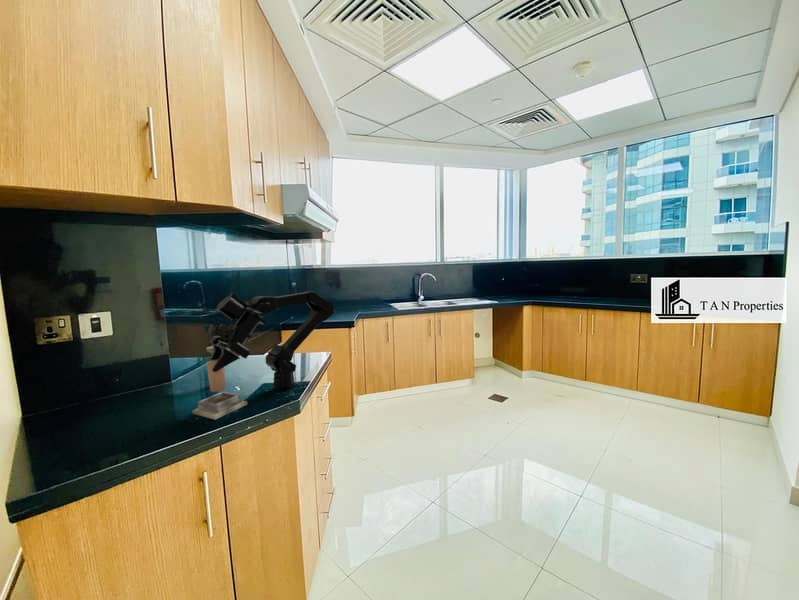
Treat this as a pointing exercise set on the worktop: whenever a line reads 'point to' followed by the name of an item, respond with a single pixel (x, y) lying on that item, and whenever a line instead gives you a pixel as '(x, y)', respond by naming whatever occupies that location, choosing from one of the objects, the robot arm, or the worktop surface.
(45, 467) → the worktop surface
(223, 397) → the socket board
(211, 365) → the peg
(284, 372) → the robot arm
